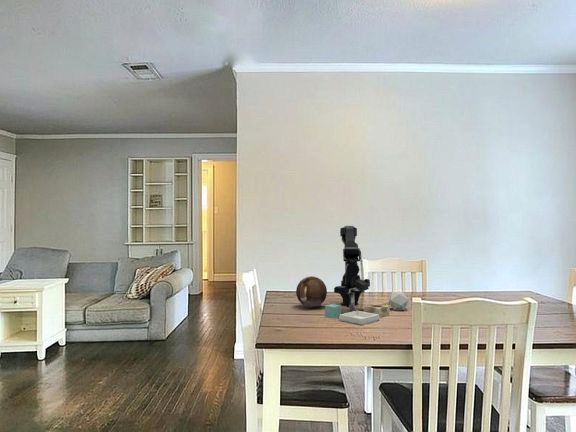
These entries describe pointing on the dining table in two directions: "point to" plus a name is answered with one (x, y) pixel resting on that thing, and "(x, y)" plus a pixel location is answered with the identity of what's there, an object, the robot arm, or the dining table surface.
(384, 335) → the dining table surface
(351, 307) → the rod
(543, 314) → the dining table surface
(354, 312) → the tray
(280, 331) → the dining table surface
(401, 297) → the die
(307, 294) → the wooden sphere
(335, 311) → the block
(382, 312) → the hollow square frame
